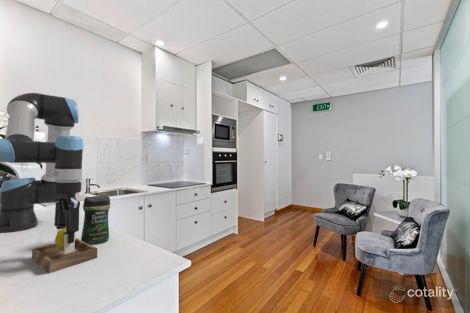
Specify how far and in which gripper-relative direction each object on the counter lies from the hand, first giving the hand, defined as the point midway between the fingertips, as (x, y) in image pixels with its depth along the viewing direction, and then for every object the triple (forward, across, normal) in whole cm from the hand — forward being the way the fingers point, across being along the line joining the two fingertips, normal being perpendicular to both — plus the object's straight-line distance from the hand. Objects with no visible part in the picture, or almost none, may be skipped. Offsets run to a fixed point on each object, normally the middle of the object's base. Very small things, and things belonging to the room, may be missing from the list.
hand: (65, 250), depth 75 cm
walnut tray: (+3, 0, 0) cm, 3 cm away
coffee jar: (+3, -8, +13) cm, 16 cm away
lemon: (+1, 0, 0) cm, 1 cm away
